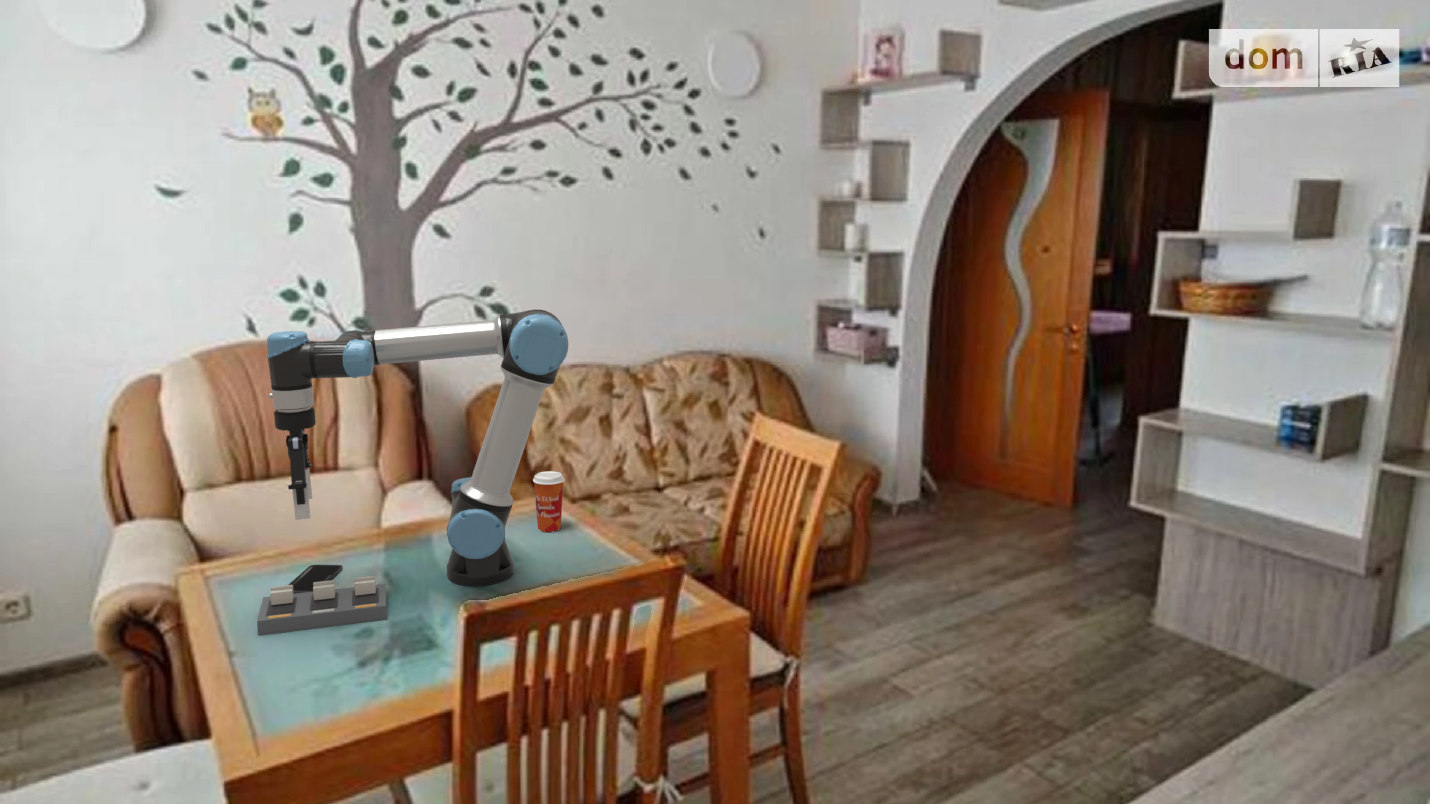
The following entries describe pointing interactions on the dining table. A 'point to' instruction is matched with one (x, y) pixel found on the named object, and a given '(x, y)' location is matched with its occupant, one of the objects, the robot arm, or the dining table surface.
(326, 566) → the phone
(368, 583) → the switch tab
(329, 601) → the switch board
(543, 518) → the coffee cup
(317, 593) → the switch tab
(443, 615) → the dining table surface
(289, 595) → the switch tab
